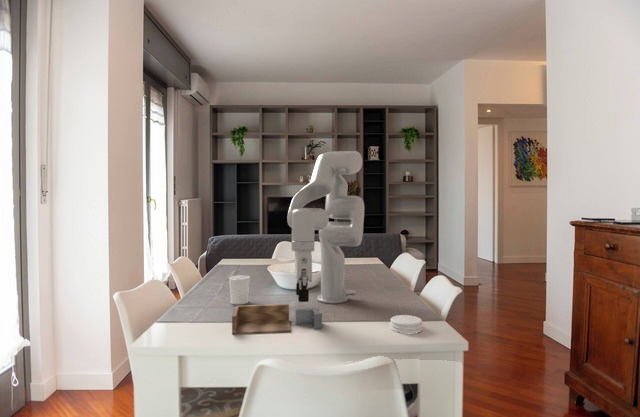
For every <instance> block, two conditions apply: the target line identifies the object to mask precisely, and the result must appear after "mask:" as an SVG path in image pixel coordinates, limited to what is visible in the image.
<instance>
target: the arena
mask: <svg viewBox="0 0 640 417" xmlns="http://www.w3.org/2000/svg"><path fill="white" fill-rule="evenodd" d="M231 330H232V331H231V335H247V334H248V335H250V334H251V335H252V334H281V333H291V332H292V329H291V325H290V304H289V303H286V304H281V303H280V304H247V305H245V304H240V305H234V308H233V313H232V317H231Z"/></svg>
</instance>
